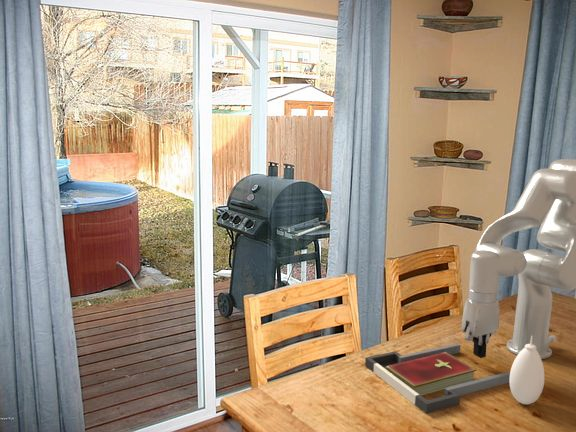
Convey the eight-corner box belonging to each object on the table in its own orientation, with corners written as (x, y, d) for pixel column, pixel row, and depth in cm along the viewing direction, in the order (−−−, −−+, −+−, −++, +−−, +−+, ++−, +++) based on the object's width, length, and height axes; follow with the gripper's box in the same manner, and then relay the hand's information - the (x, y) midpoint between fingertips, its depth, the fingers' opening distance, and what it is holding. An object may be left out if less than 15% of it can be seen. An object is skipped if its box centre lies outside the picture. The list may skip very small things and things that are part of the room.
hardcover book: (384, 378, 145) (385, 364, 144) (443, 364, 154) (444, 350, 153) (413, 400, 135) (414, 385, 134) (474, 383, 144) (476, 368, 143)
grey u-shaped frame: (450, 347, 164) (450, 339, 164) (519, 387, 141) (520, 378, 141) (365, 365, 151) (365, 357, 151) (426, 413, 128) (426, 404, 127)
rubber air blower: (512, 391, 139) (520, 326, 136) (544, 401, 134) (553, 335, 131) (502, 403, 133) (510, 336, 130) (536, 414, 128) (544, 345, 125)
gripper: (492, 286, 154) (489, 344, 158) (452, 295, 148) (449, 356, 152) (513, 294, 147) (509, 355, 151) (472, 304, 141) (468, 367, 145)
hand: (479, 355), depth 152 cm, fingers closed
